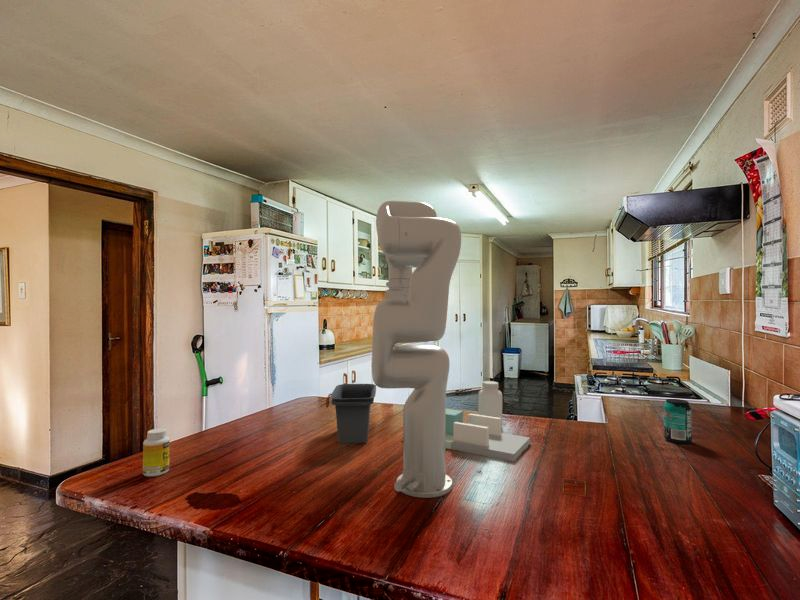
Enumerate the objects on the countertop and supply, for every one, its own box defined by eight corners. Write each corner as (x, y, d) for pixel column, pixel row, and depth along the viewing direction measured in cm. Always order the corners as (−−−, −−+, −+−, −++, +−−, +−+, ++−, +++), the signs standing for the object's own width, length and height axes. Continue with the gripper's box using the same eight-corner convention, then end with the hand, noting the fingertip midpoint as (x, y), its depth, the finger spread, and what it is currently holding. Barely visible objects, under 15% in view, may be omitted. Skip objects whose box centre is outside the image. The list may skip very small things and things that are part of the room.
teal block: (454, 435, 122) (454, 415, 122) (436, 432, 125) (436, 412, 125) (463, 430, 127) (462, 411, 127) (445, 427, 130) (445, 408, 130)
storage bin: (375, 446, 118) (375, 397, 119) (321, 447, 118) (321, 397, 118) (376, 425, 140) (376, 383, 140) (330, 426, 139) (330, 383, 139)
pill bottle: (504, 430, 134) (504, 384, 134) (480, 430, 134) (480, 384, 134) (499, 423, 142) (499, 380, 142) (476, 423, 142) (476, 380, 142)
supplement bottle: (165, 476, 97) (165, 433, 98) (139, 478, 96) (139, 434, 96) (172, 467, 103) (172, 426, 103) (147, 469, 101) (147, 428, 102)
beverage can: (683, 437, 126) (682, 398, 127) (697, 445, 119) (696, 403, 120) (659, 436, 127) (658, 398, 127) (671, 444, 120) (671, 403, 120)
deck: (514, 461, 106) (514, 434, 106) (402, 439, 124) (402, 416, 124) (530, 444, 120) (529, 420, 120) (427, 426, 138) (427, 405, 138)
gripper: (374, 285, 132) (374, 342, 132) (414, 284, 124) (414, 344, 124) (387, 286, 139) (387, 340, 138) (426, 285, 131) (426, 342, 130)
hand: (400, 342), depth 131 cm, fingers closed
